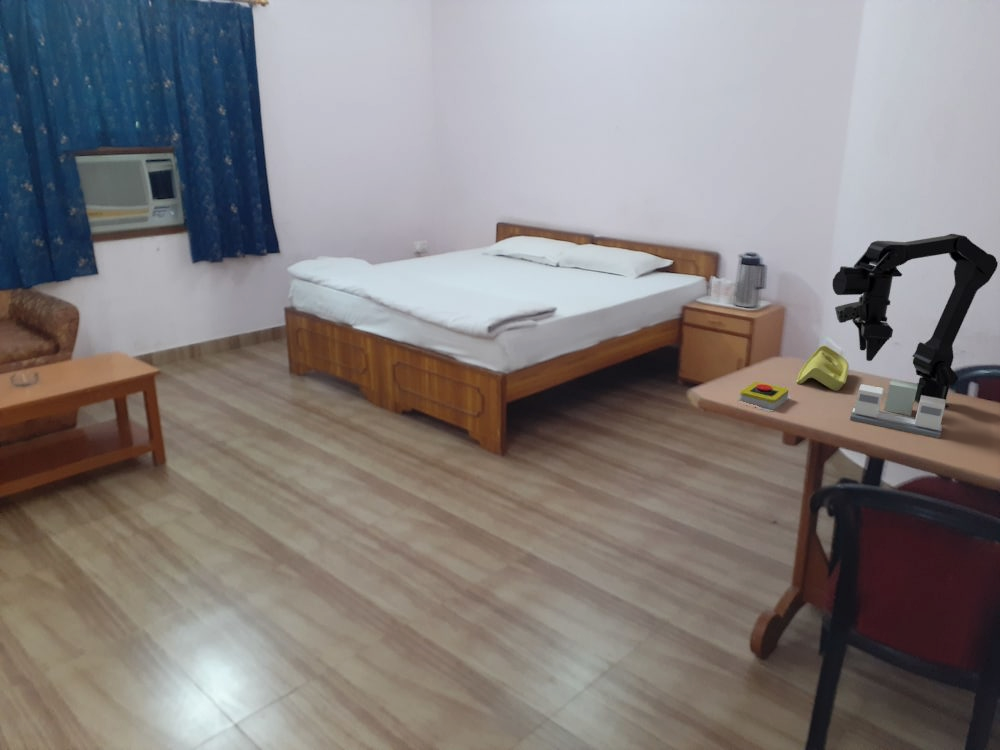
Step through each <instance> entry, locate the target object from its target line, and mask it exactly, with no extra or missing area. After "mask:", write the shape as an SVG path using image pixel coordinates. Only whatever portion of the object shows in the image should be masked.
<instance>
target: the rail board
mask: <svg viewBox="0 0 1000 750" xmlns="http://www.w3.org/2000/svg"><path fill="white" fill-rule="evenodd" d="M883 393H884V388H883V387H877V386H873V385H868V384H862V383H861V384H860V385H859V388H858V393H857V396H856V401H855V405H854V407H853V409H852V411H851V415H850V419H849V420H850V421H854V422H859V423H863V424H868V425H873V426H878V427H882V428H888V429H893V430H897V431H902V432H908V433H912V434H917V435H923V436H928V437H931V438H937V439H941V436H942V430H943V429H942V428H943V426H942V425H943V424H942V420H943V416H944V412H945V408H946V407H945V403H946V402H945V399H940V398H934V397H929V396H923V395H921V398H920V402H918V403H919V404H918V406H917V410H916V415H915V417H911V416H907V415H902V414H897V413H892V412H887V411H880V406H881V402H882V397H883Z"/></svg>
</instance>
